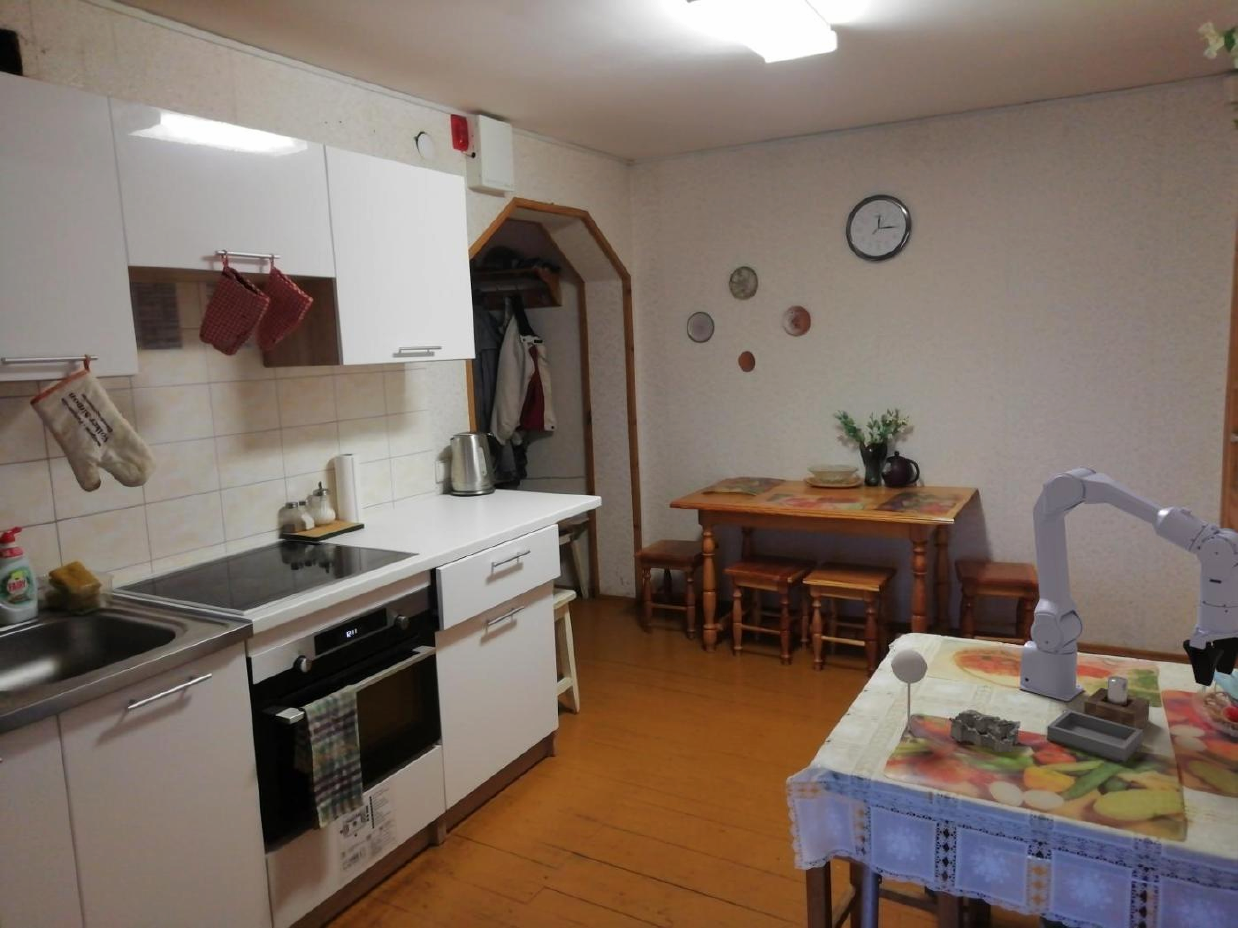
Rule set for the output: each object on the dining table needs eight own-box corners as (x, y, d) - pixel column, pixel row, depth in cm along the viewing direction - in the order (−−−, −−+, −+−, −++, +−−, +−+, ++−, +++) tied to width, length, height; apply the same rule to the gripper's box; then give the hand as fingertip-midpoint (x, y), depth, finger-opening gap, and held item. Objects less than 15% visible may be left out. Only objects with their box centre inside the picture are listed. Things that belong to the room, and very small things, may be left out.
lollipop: (928, 725, 155) (929, 646, 153) (925, 740, 150) (926, 658, 148) (892, 720, 158) (893, 642, 155) (888, 734, 152) (888, 654, 150)
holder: (1083, 722, 154) (1084, 701, 153) (1100, 707, 159) (1101, 687, 158) (1133, 736, 148) (1134, 714, 147) (1148, 720, 153) (1149, 699, 152)
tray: (1046, 739, 148) (1047, 726, 148) (1067, 722, 154) (1068, 709, 154) (1123, 763, 139) (1124, 748, 139) (1142, 743, 145) (1142, 730, 145)
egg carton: (945, 739, 151) (945, 717, 150) (962, 723, 156) (962, 702, 155) (1007, 757, 143) (1007, 734, 143) (1023, 740, 148) (1024, 718, 148)
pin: (1103, 721, 154) (1105, 679, 152) (1109, 716, 156) (1111, 674, 154) (1122, 727, 151) (1124, 684, 150) (1128, 721, 153) (1130, 679, 152)
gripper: (1226, 617, 137) (1220, 697, 139) (1265, 598, 145) (1259, 675, 147) (1178, 606, 143) (1173, 683, 145) (1218, 589, 150) (1213, 662, 152)
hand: (1213, 678), depth 146 cm, fingers open, 7 cm apart
